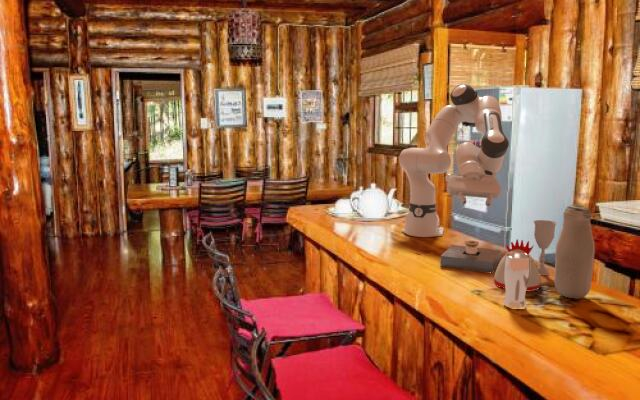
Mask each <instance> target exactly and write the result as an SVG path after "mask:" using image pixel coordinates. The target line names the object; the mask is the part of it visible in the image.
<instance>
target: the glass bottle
mask: <svg viewBox="0 0 640 400" xmlns="http://www.w3.org/2000/svg"><path fill="white" fill-rule="evenodd" d="M562 218H563V222H562V226H561V230H560V232H559V235H558V237H557V240H556V243H555V244H556V246H555V258H554V259H555V260H554V261H555V262H554V280H553V281H554V286H555V290H556V291H557V293H558V294H559V295H560V296H562V297H564V296H565V297H564V298H567V297H569V298H568V299H570V298H575V299H574V300H580V298H581V299H583V298H585V297H586V296H587V295H588V294H589V293H590V290H591V289H592V279H593V272H594V260H595V250H596V249H595V247H596V246H595V240H594V236H593V229H592V224H591V220H592V211H591V209H590V207H587V206H584V205H581V204H570V205H568V206H567V207H565V209H564V211H563V215H562Z"/></svg>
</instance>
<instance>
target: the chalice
mask: <svg viewBox="0 0 640 400" xmlns="http://www.w3.org/2000/svg"><path fill="white" fill-rule="evenodd" d="M533 223H534V232H533V233H534V239H535V242H536V244H537V246H538V248H539V249H541V252H540V253H539V256H540V259H539V261H540V264H539V265H537V266H538V267H537V268H538V272H539V274H541V275H540V276H542V275H547V276H549V275H550V272H549V270H548V267H547V266H545V261H546V259H545V257H546V253H545V251H546V250H547V249H549V248H550V245H551V244H552V242H553V241H554V238H555V229H556V225H557V223H558V222H557V221H553V220H544V219H538V220H537V219H536V220H533ZM548 274H549V275H548Z"/></svg>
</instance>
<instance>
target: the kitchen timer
mask: <svg viewBox="0 0 640 400" xmlns="http://www.w3.org/2000/svg"><path fill="white" fill-rule="evenodd" d="M510 245H511V248H510V247H509V245H508V244H506V245H505V247H506V249H507V253H512V252H515V253H524V254H527V255H529V256H530V277H529V282H528V286H527V289H526V290H532V289H537V288H539V287H540V288H541V277H540V276H541V275H539V272H538V268H537V267H538V266H539V265H537V263H536V261H535V260H534V258H533V257H532V255H531V254H530V253H531V251H532V250H533V248H534V244H533V245H532V246H531V247H530V241H529V240H528V241H527V242H526V245H525V246H524V239H522V240H521V241H520V244H519V240H518V238H517V239H516V240H515V244H514V242H513V241H511V242H510ZM505 257H506V254H505V255H504V256H503V257H502V258H501V261H500V262H499V264H498V266H497V267H496V269H495V271H494V275H493V276H494V278H493V284H494V283H495V284H496V285H498V286H500V287H504V288H505V281H504V263H505ZM495 284H494V285H495ZM496 285H495V286H496ZM498 286H497V287H498ZM500 287H499V288H500Z"/></svg>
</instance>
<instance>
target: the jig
mask: <svg viewBox="0 0 640 400" xmlns="http://www.w3.org/2000/svg"><path fill="white" fill-rule="evenodd" d="M465 253H466V245H465V246H464V245H455V244H452V245H451V246H450V247H449V248H448V249H446V250H445V251H444V252H443V253H442V254H441V255H440V264H439V265H440V268H441V267H442V268H448V267H449V269H455V268H458V269H457V270H463V269H466V270H465V271H470V270H473V271H472V272H478V271H482V272H481V273H485V272H491V273H490V274H493V273H494V272H495V271H496V269H497V267H498V266H497V265H499V264H498V263H500V261H501V259H502V258H501V256H502V250H500V249H491V248H485V247H484V248H483V247H477V256H476V255H468V254H465ZM496 266H497V267H496ZM495 268H496V269H495ZM493 271H494V272H493ZM492 272H493V273H492Z"/></svg>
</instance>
